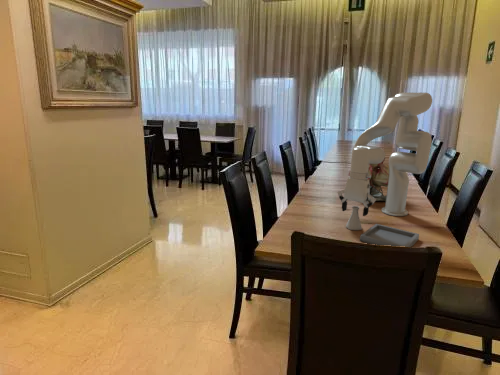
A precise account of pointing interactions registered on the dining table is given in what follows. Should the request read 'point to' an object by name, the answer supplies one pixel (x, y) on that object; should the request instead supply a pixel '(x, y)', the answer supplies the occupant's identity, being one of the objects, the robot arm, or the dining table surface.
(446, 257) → the dining table surface
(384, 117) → the robot arm
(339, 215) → the dining table surface
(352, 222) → the flask
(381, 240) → the serving tray
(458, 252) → the dining table surface
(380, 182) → the rose bouquet
